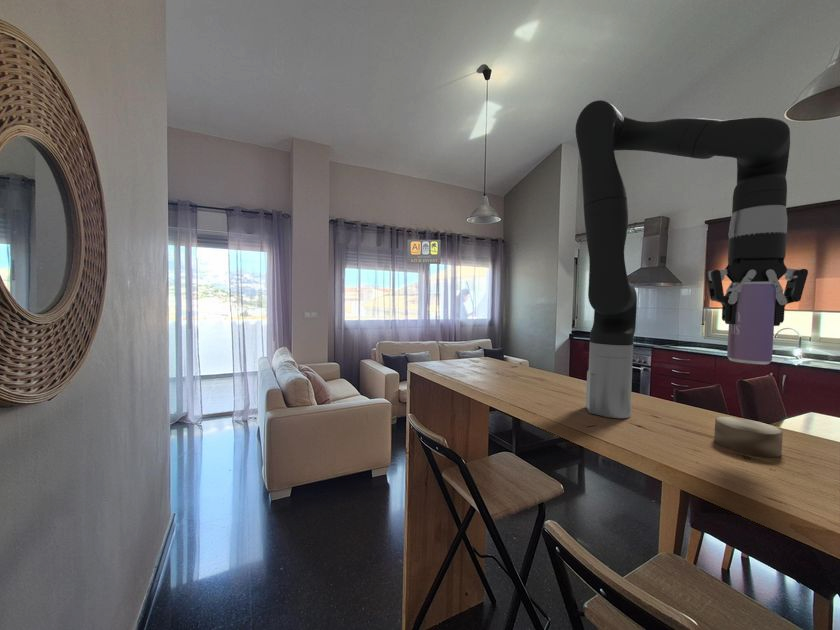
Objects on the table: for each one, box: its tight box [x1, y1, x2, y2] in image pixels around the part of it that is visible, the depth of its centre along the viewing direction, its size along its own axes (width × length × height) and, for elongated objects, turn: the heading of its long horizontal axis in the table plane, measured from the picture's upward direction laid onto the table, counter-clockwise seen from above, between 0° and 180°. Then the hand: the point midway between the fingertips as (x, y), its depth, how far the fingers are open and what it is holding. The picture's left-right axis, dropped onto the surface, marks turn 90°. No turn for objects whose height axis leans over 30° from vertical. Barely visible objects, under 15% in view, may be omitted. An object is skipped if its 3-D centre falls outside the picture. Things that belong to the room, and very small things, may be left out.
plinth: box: [713, 416, 784, 458], centre depth 62 cm, size 9×9×4 cm
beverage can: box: [726, 282, 776, 366], centre depth 61 cm, size 6×6×15 cm
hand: (751, 324), depth 61 cm, fingers closed on beverage can, 5 cm apart
